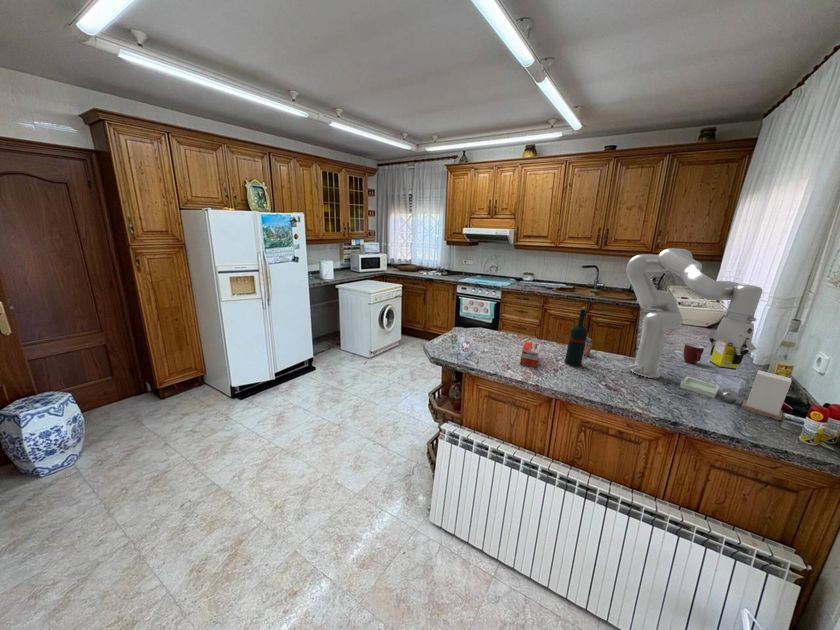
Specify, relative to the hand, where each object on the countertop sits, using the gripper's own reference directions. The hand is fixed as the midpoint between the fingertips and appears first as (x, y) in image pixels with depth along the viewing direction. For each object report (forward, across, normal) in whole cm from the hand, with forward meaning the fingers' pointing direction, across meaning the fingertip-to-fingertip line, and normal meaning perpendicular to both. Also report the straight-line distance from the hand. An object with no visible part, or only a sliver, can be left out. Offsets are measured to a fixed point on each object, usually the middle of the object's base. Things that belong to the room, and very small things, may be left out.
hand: (724, 359), depth 128 cm
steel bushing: (+20, +1, -10) cm, 22 cm away
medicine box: (+21, +46, +57) cm, 76 cm away
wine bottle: (+20, +42, +34) cm, 58 cm away
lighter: (+20, +53, +19) cm, 60 cm away
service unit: (+19, -8, -16) cm, 26 cm away
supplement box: (+3, 0, 0) cm, 3 cm away
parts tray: (+20, +12, -9) cm, 24 cm away
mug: (+20, +39, -36) cm, 57 cm away
